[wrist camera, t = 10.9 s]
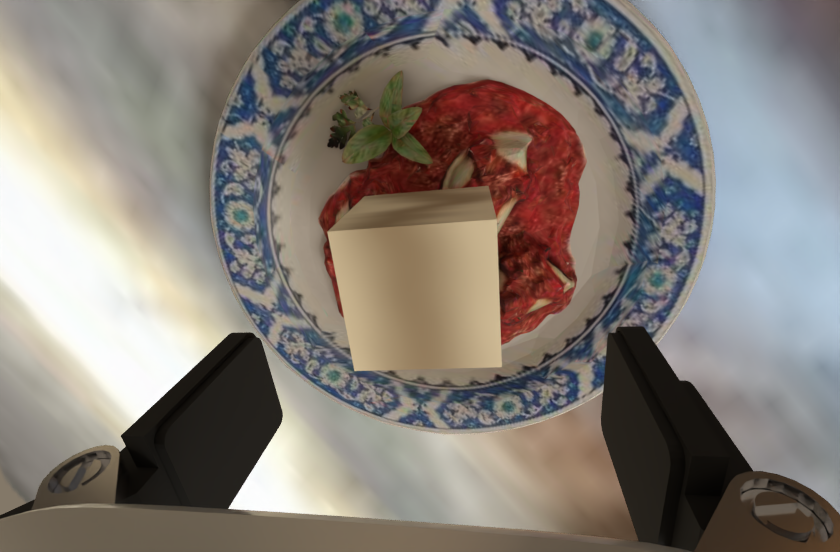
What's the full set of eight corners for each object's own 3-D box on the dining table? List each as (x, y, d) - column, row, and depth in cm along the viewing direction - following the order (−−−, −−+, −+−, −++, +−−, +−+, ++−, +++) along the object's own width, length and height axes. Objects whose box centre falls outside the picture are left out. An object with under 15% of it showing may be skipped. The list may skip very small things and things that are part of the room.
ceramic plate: (702, 377, 26) (730, 410, 23) (323, 435, 31) (309, 468, 28) (678, -142, 17) (720, -190, 14) (148, 62, 22) (103, 57, 19)
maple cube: (488, 185, 20) (496, 219, 14) (492, 300, 22) (501, 367, 16) (364, 196, 20) (327, 231, 15) (381, 305, 23) (354, 371, 17)
